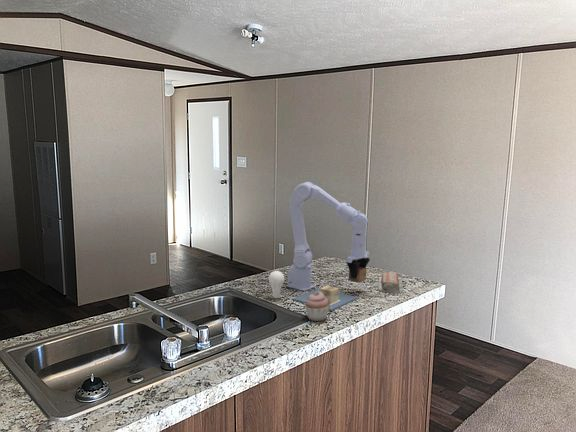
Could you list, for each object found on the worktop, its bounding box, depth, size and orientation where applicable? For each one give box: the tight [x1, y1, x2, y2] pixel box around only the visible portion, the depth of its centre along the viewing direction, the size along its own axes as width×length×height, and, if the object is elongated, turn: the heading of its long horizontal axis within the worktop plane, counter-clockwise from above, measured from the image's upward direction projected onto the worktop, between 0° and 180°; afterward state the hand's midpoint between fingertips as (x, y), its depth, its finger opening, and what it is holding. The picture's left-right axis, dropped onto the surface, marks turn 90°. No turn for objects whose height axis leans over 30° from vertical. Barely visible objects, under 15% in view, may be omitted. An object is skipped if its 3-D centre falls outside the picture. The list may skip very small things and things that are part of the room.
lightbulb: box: [268, 270, 285, 300], centre depth 186 cm, size 6×6×11 cm
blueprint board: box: [292, 287, 358, 312], centre depth 186 cm, size 18×18×1 cm
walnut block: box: [348, 267, 367, 284], centre depth 193 cm, size 5×5×5 cm
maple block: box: [319, 285, 340, 304], centre depth 182 cm, size 5×5×5 cm
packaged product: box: [378, 271, 404, 294], centre depth 205 cm, size 18×5×10 cm
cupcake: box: [303, 291, 331, 322], centre depth 166 cm, size 9×9×10 cm
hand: (357, 276), depth 194 cm, fingers closed on walnut block, 5 cm apart
